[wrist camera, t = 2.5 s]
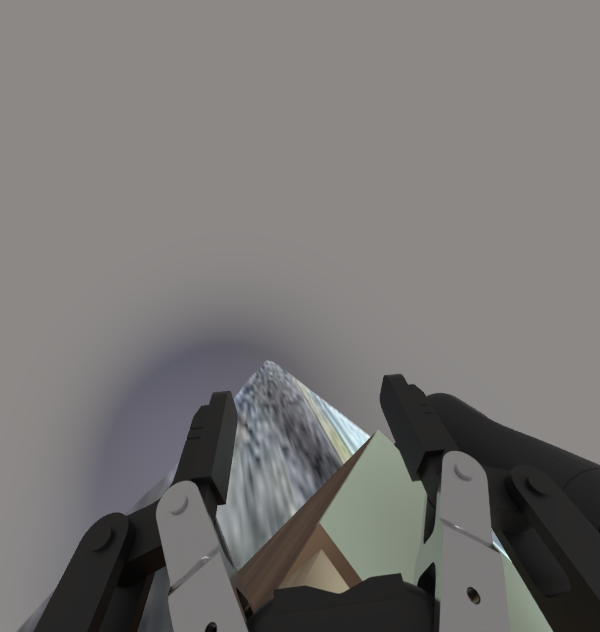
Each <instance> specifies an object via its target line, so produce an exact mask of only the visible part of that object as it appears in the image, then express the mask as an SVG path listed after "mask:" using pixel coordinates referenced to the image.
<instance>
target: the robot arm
mask: <svg viewBox="0 0 600 632" xmlns="http://www.w3.org/2000/svg"><path fill="white" fill-rule="evenodd" d="M380 404H381V408H382V410H383V413H384V415H385V418H386V420H387V422H388V425H389V427H390V430H391V432H392V434H393V437H394V439H395V441H396V443H395V444H394V446H395V447H396V448H397V449H398V450H399V451H400V454H401V456H402V459H403V461H404V463H405V466H406V468H407V471H408V473H409V475H410V478H411V480H412V482H413V481H421V482H422V484H423V486H424V489H425V491H426V492H425V500H424V510H423V520H422V530H421V540H420V547H419V551H418V555H417V559H416V564H415V571H414V581H413V584H411V583H409V582H406V581H403V578H402V575H401V573H396V574H388V575H381V576H373V577H369V578H367V579H366V580H364V581H362V582H360V583H359V584H357V585H355V586H353V587H352V588H350V589H348V590H346V591H345V592H343V593H339V594H338V593H333V592H329V591H326V590H322V589H318V588H314V587H310V586H306V585H305V586H297V587H289V588H282V589H274V597H273V598H271V599H269V600H268V601H266V602H265V603H264V604H263V605H261V606H260V607H259V608H258V609H257V610H256V611H255V612H254V609H253V607H252V604H251V602H250V599H249V597H248V594H247V591H246V589H245V587H244V584H243V582H242V580H241V578H240V576H239V574H238V571H237V569H236V567H235V564H234V562H233V559H232V556H231V554H230V551H229V549H228V546H227V544H226V541H225V538H224V536H223V533H222V531H221V528H220V526H219V523H218V520H217V518H216V511H217V505H223V504H226V498H227V492H228V485H229V478H230V471H231V464H232V457H233V450H234V443H235V436H236V429H237V410H236V407H235V404H234V400H233V397H232V394H231V392H230V391H223V392H214V393H213V394H212V396H211V401H210V404H209V405H205V406H201V407H200V409H199V410H198V411H197V413H196V414H195V415H194V417H193V420H192V423H191V427H190V431H189V433H188V436H187V441H186V442H185V446H184V449H183V452H182V455H181V458H180V462H179V465H178V468H177V471H176V474H175V477H174V480H173V482H172V484H171V486H170V488H169V489H168V490H167V491H166V492H165V493H164V495H163V496H162V497H161V498H160V499H159V500H157V501H156V502H154V503H153V504H151V505H149V506H147V507H145V508H143V509H141V510H138V511H136V512H134V513H132V514H130V515H128V516H125V515H124V514H122V513H111V514H109V515H106V516H104V517H102V518H101V519H99V520H98V521H97V522H96V523H95V524H94V525H93V526H91V527H90V529H89V530H88V531H87V532H86V534H85V535H84V536H83V538H82V540H81V541H80V543H79V545H78V547H77V549H76V551H75V553H74V555H73V557H72V559H71V561H70V563H69V565H68V566H67V568H66V570H65V572H64V574H63V576H62V578H61V580H60V582H59V584H58V586H57V588H56V590H55V592H54V593H53V595H52V597H51V599H50V601H49V603H48V605H47V607H46V609H45V611H44V613H43V615H42V617H41V619H40V620H39V622H38V624H37V626H36V628H35V630H34V632H137V630H138V627H139V624H140V620H141V617H142V614H143V610H144V607H145V604H146V600H147V597H148V594H149V590H150V587H151V584H152V580H153V577H154V574H155V571H157V570H159V569H161V568H163V567H165V566H167V570H168V575H169V579H170V591H169V593H168V604H169V610H170V616H171V621H172V626H173V631H174V632H510V624H509V614H508V605H507V595H506V585H505V576H504V567H503V561H502V557H501V554H500V552H499V551H498V549H496V548H495V547H494V545H493V541H492V530H491V528H492V529H493V531H494V532H495V534H496V536H497V538H498V539H499V541H500V543H501V545H502V546H503V548H504V550H505V551H506V553H507V555H508V556H509V558H510V560H511V561H512V563H513V565H514V566H515V568H516V570H517V572H518V573H519V575H520V577H521V578H522V580H523V582H524V583H525V585H526V587H527V588H528V590H529V592H530V593H531V595H532V597H533V599H534V600H535V602H536V604H537V605H538V607H539V609H540V610H541V612H542V614H543V615H544V617H545V619H546V621H547V622H548V624H549V626H550V627H551V629H552V631H553V632H600V465H598V464H596V463H593V462H591V461H589V460H586V459H584V458H582V457H579V456H577V455H574V454H572V453H570V452H568V451H565V450H562V449H560V448H558V447H555V446H553V445H551V444H548V443H546V442H544V441H541V440H539V439H536V438H533V437H531V436H528V435H525V434H523V433H521V432H518V431H515V430H513V429H510V428H508V427H505V426H503V425H501V424H499V423H496V422H494V421H492V420H490V419H489V418H488V417H486V416H485V415H484V414H482V413H481V412H479V411H477V410H476V409H474V408H473V407H471V406H469V405H468V404H466V403H464V402H463V401H461V400H460V399H458V398H456V397H454V396H452V395H449V394H445V393H435V394H431V395H428V396H426V395H425V394H424V392H422V391H421V390H420V389H419V388H418V387H416V385H414V384H411V385H408V384H407V382H406V380H405V378H404V377H403V376H402V375H401V374H393V375H385V376H384V377H383V382H382V387H381V393H380Z"/></svg>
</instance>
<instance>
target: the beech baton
mask: <svg viewBox="0 0 600 632" xmlns="http://www.w3.org/2000/svg"><path fill="white" fill-rule="evenodd" d="M305 585H306V586H310V587H314V588H318V589H322V590H326V591H329V592H333V593H338V594H339V593H343V592H345V591H346V590H348V589H350V588H349V587H348V586H347V584H346V583H345V581H344V580H343V578H342V577H341V576H340V574H339V573H338V571H337V570H336V569H335V567H334V566H333V564H332V563H331V562H330V560H329V559H328V557H327V556H326V555H325V553H324V552H323V550H322V549H321V550H320V551H319V552H318V553H316V554H315V555H314V556H313V557H312V558H311V559H310V560H308V561H307V562H306V563H305V564H304V565H303V566H301V567H300V568H299V569H298V570H297V571H296V572H294V573H293V574H292V575H291V576H290V577H289V578H287V579H286V580H285V581H284V582H283V583H282V584H281V585H280V586H279V588H278V589H282V588H289V587H297V586H305ZM273 597H274V596H273Z"/></svg>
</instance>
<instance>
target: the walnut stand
mask: <svg viewBox="0 0 600 632" xmlns="http://www.w3.org/2000/svg"><path fill="white" fill-rule="evenodd" d="M425 492H426V491H425V489H424V486H423V484H422V482H421V481H413V482H412V480H411V478H410V475H409V473H408V471H407V468H406V466H405V463H404V461H403V459H402V456H401V454H400V451H399V450H398V449H397V448H396V447H395V446H394V445H393V444H392V443H391V442H390V441H389V440H388V439H387V438H386V437H385V436H384V435H383V434H382V433H381V432H380V431H379V430H377V431H376V432H375V433H374V434H373V435H372V436H371V437H370V438H369V439H368V440H367V441H366V442H365V443H364V444H363V445H362V446H361V447H360V448H359V450H358V451H357V452H356V453H355V454H354V455H353V456H352V457H351V458H350V459H349V460H348V461H347V462H346V463H345V464H344V465H343V466H342V467H341V468H340V469H339V470H338V471H337V472H336V473H335V474H334V475H333V476H332V477H331V478H330V479H329V480H328V481H327V482H326V483H325V484H324V485H323V486H322V487H321V488H320V489H319V490H318V491H317V492H316V493H315V494H314V495H313V496H312V497H311V498H310V499H309V500H308V501H307V502H306V503H305V504H304V505H303V506H302V507H301V508H300V509H299V510H298V511H297V512H296V513H295V514H294V515H293V516H292V517H291V519H290V520H289V521H288V522H287V523H286V524H285V525H284V526H283V527H282V528H281V529H280V530H279V531H278V532H277V533H276V534H275V535H274V536H273V537H272V538H271V539H270V540H269V541H268V542H267V543H266V544H265V545H264V546H263V547H262V548H261V549H260V550H259V551H258V552H257V553H256V554H255V555H254V556H253V557H252V558H251V559H250V560H249V561H248V562H247V563H246V564H245V565H244V566H243V567H242V568H241V569H240V570H239V571H238V574H239V576H240V578H241V580H242V582H243V584H244V587H245V589H246V591H247V594H248V597H249V599H250V602H251V604H252V607H253V609H254V612H255V611H256V610H257V609H258V608H259V607H260V606H261V605H263V604H264V603H265V602H266V601H268V600H269V599H271V598H273V596H274V589H278V588H279V586H280V585H281V584H282V583H283V582H284V581H285V580H286V579H287V578H289V577H290V576H291V575H292V574H293V573H294V572H296V571H297V570H298V569H299V568H300V567H301V566H303V565H304V564H305V563H306V562H307V561H308V560H310V559H311V558H312V557H313V556H314V555H315V554H316V553H318V552H319V551H320V550H321V549H322V550H323V552H324V553H325V555H326V556H327V557H328V559H329V560H330V562H331V563H332V564H333V566H334V567H335V569H336V570H337V571H338V573H339V574H340V576H341V577H342V578H343V580H344V581H345V583H346V584H347V586H348V587H349V588H352V587H353V586H355V585H357V584H359V583H360V582H362V581H364V580H366V579H367V578H369V577H373V576H381V575H388V574H396V573H401V575H402V578H403V581H406V582H409V583H411V584H413V581H414V571H415V564H416V559H417V555H418V551H419V547H420V540H421V530H422V520H423V510H424V500H425ZM493 545H494V544H493ZM494 547H495V548H496V549H498V548H497V547H496V546H495V545H494ZM498 551H499V552H500V554H501V557H502V561H503V567H504V576H505V585H506V595H507V605H508V614H509V624H510V632H553V631H552V629H551V627H550V626H549V624H548V622H547V621H546V619H545V617H544V615H543V614H542V612H541V610H540V609H539V607H538V605H537V604H536V602H535V600H534V599H533V597H532V595H531V593H530V592H529V590H528V588H527V587H526V585H525V583H524V582H523V580H522V578H521V577H520V575H519V573H518V572H517V570H516V568H515V566H514V565H513V563H512V562H511V561H510V560H509V559H508V558H507V557H506V556H505V555H504V554H503V553H502V552H501V551H500V550H499V549H498Z"/></svg>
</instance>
